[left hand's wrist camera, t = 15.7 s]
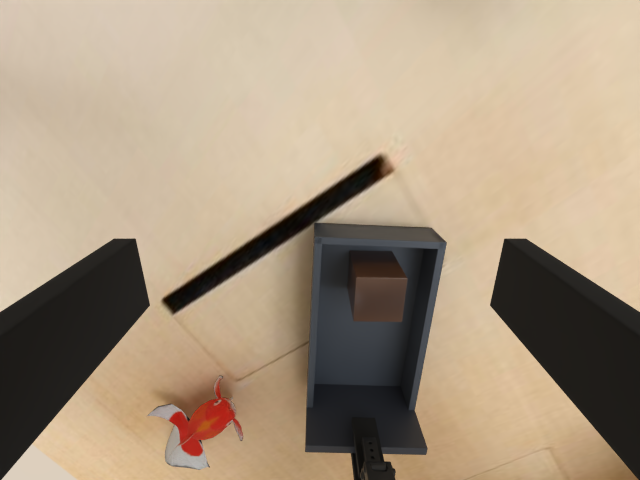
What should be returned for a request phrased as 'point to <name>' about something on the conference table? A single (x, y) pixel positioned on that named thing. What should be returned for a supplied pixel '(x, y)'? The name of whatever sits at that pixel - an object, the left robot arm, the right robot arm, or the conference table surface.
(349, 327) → the dark grey open box
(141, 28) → the conference table surface
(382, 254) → the block
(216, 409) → the fish
